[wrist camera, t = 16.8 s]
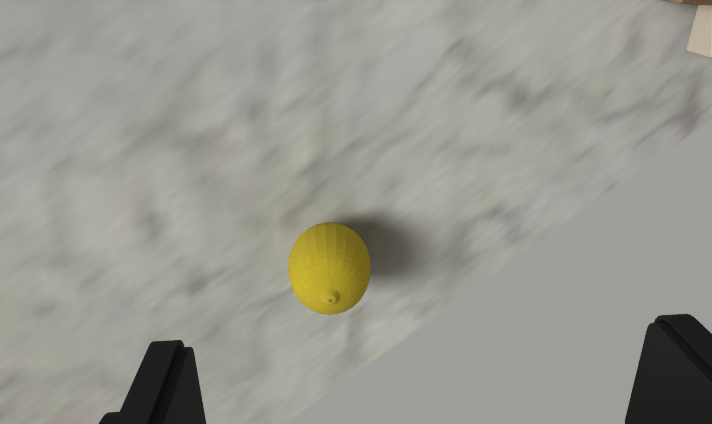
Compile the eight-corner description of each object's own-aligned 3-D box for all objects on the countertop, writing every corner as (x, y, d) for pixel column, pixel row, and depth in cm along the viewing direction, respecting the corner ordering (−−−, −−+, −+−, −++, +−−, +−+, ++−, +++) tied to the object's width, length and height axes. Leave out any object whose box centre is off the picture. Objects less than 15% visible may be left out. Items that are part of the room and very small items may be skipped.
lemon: (275, 236, 41) (265, 298, 33) (332, 189, 39) (334, 244, 32) (326, 283, 43) (326, 351, 35) (381, 240, 41) (394, 302, 34)
